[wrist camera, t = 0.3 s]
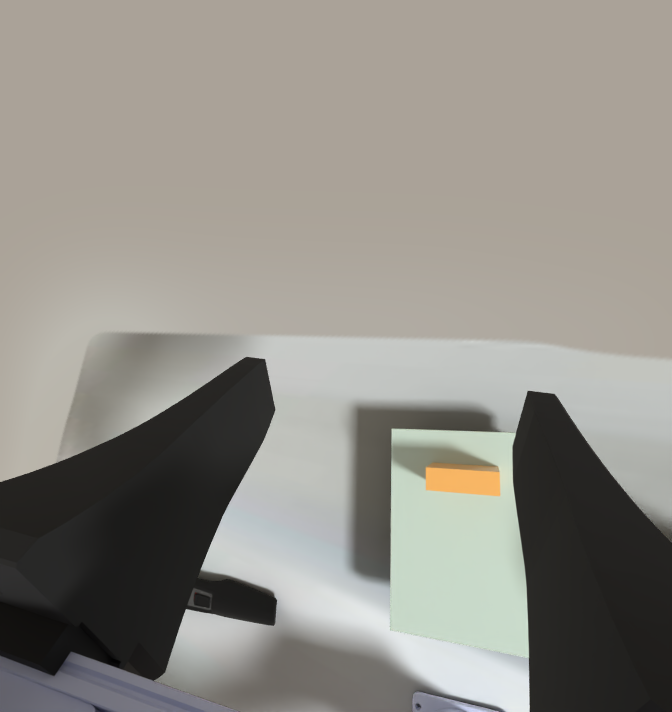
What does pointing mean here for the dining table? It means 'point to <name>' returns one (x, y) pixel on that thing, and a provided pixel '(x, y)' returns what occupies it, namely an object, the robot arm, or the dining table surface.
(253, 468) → the dining table surface
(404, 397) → the dining table surface
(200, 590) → the electric trimmer
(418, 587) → the lid
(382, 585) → the dining table surface
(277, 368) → the dining table surface
